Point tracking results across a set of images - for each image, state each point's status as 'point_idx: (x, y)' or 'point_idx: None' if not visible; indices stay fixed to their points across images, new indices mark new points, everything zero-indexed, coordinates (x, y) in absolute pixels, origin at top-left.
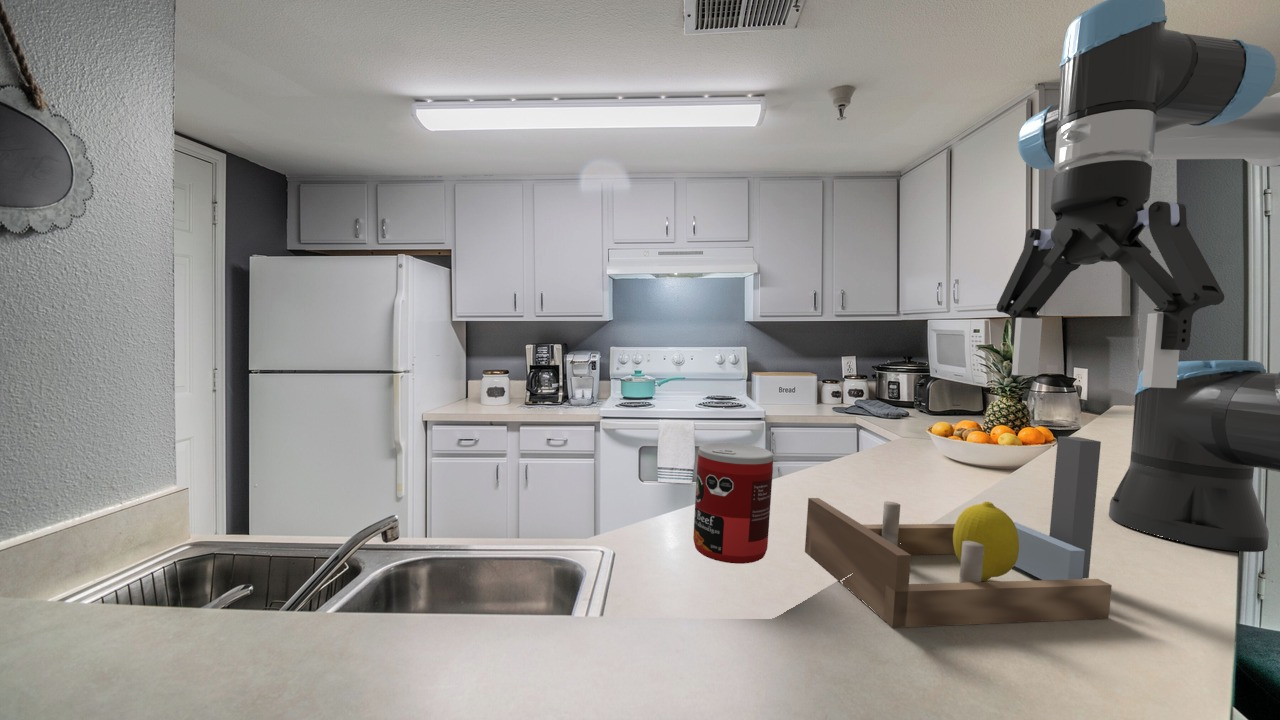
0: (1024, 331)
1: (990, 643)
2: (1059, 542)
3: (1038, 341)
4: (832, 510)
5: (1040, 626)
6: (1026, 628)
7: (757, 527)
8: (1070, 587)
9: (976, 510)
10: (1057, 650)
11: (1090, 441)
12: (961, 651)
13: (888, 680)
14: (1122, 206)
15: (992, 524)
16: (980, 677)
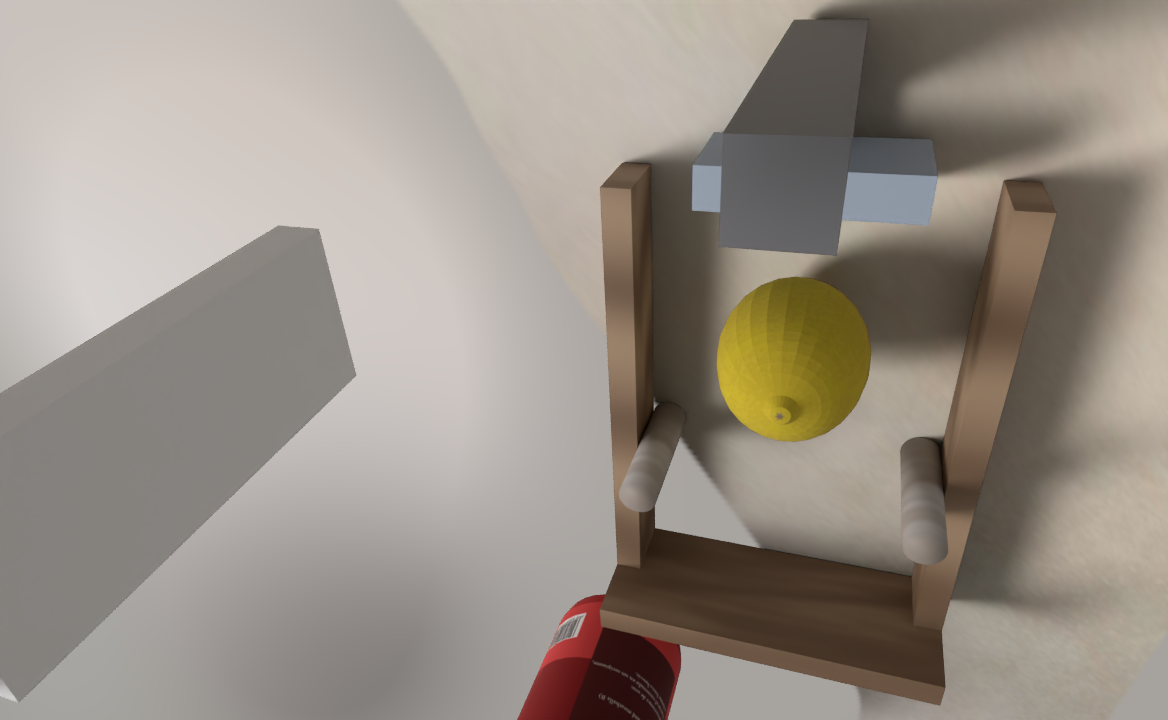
0: (117, 565)
1: (1027, 505)
2: (867, 194)
3: (123, 378)
4: (685, 638)
5: None
6: (1008, 403)
7: (664, 688)
8: (1023, 326)
9: (784, 437)
10: (1092, 421)
11: (842, 198)
12: (1029, 562)
13: (1052, 689)
14: None
15: (837, 424)
16: (1098, 593)
